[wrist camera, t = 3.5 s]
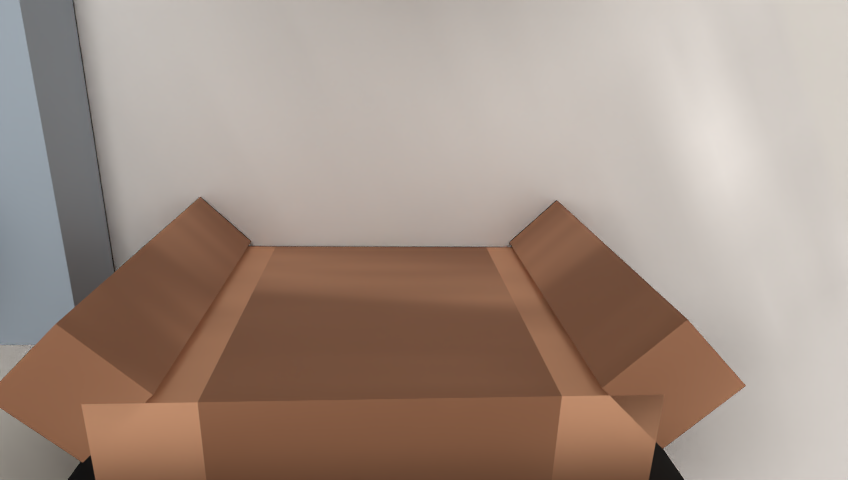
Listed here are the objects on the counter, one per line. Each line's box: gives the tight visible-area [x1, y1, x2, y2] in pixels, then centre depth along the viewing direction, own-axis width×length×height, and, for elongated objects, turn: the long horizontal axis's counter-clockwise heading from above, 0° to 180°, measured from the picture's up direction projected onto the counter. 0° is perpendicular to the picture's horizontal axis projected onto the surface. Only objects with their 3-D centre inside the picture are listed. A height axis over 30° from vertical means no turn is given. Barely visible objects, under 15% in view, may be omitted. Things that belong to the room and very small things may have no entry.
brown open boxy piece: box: [0, 197, 746, 480], centre depth 10 cm, size 8×8×5 cm
